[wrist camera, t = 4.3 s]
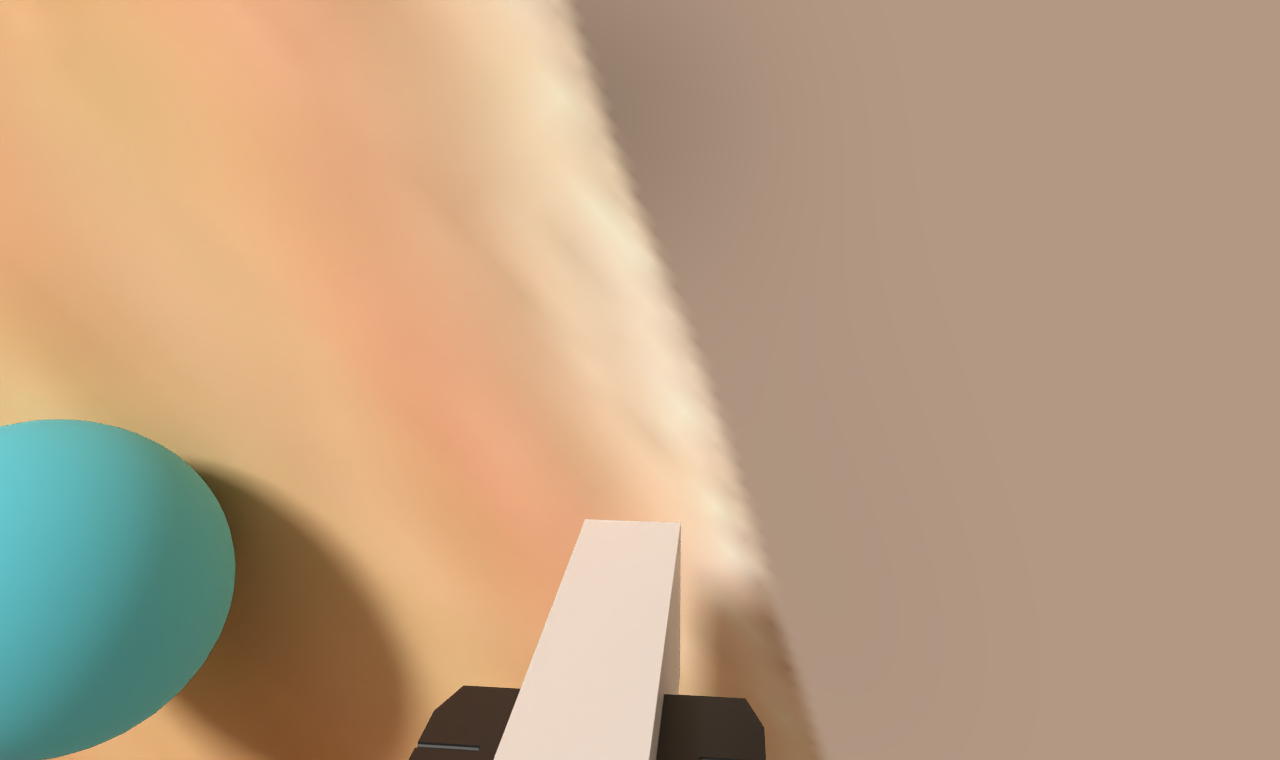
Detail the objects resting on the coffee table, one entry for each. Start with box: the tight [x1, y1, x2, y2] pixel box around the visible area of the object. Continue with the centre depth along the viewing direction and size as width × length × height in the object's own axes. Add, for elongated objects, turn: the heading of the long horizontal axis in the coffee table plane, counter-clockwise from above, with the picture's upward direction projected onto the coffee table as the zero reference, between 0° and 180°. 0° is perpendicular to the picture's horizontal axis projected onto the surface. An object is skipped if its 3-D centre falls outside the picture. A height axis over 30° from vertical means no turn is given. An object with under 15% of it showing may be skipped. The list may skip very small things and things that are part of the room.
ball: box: [0, 420, 236, 760], centre depth 14 cm, size 6×6×6 cm
